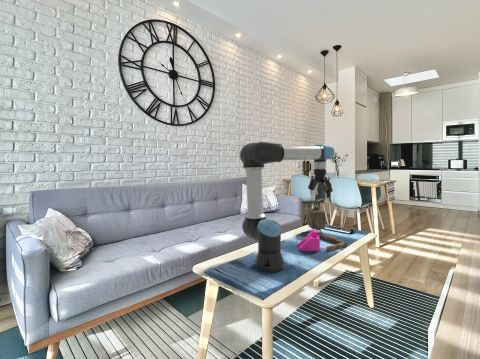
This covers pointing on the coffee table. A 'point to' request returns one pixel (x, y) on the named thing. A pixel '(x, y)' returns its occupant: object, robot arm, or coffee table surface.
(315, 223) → the brown pump bottle
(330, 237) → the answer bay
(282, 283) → the coffee table surface
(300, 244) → the bracket
